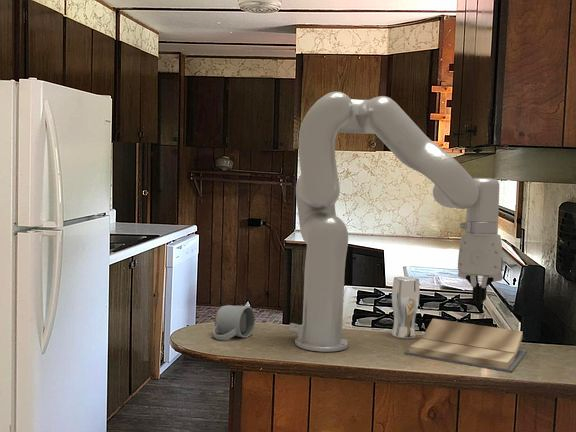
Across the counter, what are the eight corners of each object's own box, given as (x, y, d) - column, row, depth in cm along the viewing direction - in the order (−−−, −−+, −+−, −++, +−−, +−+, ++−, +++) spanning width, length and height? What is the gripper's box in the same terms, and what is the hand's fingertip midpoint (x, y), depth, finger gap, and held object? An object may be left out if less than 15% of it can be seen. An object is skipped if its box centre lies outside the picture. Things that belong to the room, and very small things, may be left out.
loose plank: (422, 343, 161) (422, 338, 160) (432, 323, 168) (432, 318, 167) (515, 358, 150) (515, 352, 150) (522, 336, 158) (522, 331, 157)
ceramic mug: (228, 329, 169) (228, 300, 169) (255, 334, 165) (256, 304, 165) (204, 338, 160) (205, 307, 159) (232, 343, 156) (233, 312, 155)
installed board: (409, 352, 152) (409, 346, 152) (421, 344, 160) (421, 338, 160) (507, 369, 142) (507, 362, 142) (514, 359, 149) (515, 353, 149)
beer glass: (419, 339, 166) (422, 281, 166) (392, 338, 167) (394, 280, 166) (414, 333, 173) (417, 277, 172) (388, 332, 174) (391, 276, 173)
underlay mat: (404, 354, 152) (404, 352, 152) (429, 337, 170) (429, 335, 170) (511, 372, 141) (511, 370, 141) (526, 352, 158) (526, 350, 158)
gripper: (447, 228, 161) (444, 302, 162) (510, 231, 153) (507, 308, 155) (455, 226, 167) (452, 297, 168) (516, 229, 160) (513, 303, 161)
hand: (479, 302), depth 161 cm, fingers closed
